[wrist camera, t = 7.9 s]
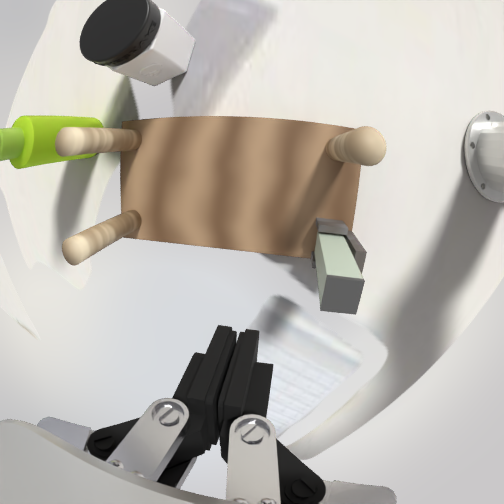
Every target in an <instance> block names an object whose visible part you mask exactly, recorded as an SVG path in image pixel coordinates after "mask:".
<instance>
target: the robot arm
mask: <svg viewBox="0 0 504 504" xmlns="http://www.w3.org/2000/svg"><path fill="white" fill-rule="evenodd" d="M465 160H466V166H467V169H468V173H469V175H470V178H471V180H472V182H473V184H474V186H475V188H476V189H477V190H478V191H479V193H480V194H481V195H483V196H484V197H485V198H487V199H489V200H491V201H494V202H504V116H503V115H502V114H500V113H498V112H495V111H484V112H481V113H479V114H477V115H476V116H475V117H474V118H473V119H472V121H471V122H470V124H469V126H468V129H467V133H466V137H465ZM236 337H237V332H236V331H232V327H228V326H221V325H218V327H217V329H216V331H215V333H214V336H213V338H212V340H211V343H210V345H209V347H208V349H207V352H206V354H202V353H194V355H193V356H192V359H191V361H190V363H189V365H188V367H187V369H186V371H185V373H184V375H183V377H182V379H181V381H180V384H179V385H178V387H177V390H176V391H175V394H174V396H173V398H164V399H159V400H157V401H155V402H153V403H152V405H150V406H149V408H148V409H147V410H146V411H145V413H144V414H143V415H142V416H141V417H140V418H137V419H134V420H130V421H127V422H124V423H120V424H117V425H113V426H110V427H106V428H102V429H99V430H97V431H94V430H91V428H89V427H85V426H81V425H77V424H73V423H70V422H66V421H63V420H60V419H56V418H53V417H47V418H43V419H42V420H40V422H39V423H38V425H37V426H36V425H33V424H31V423H27V422H24V421H19V420H12V419H7V420H2V421H0V504H396V495H395V493H394V491H393V490H391V489H390V488H387V487H383V486H373V485H364V484H355V483H347V482H341V481H336V480H334V481H333V482H330V481H325V480H322V479H321V478H320V477H319V476H318V475H316V474H315V473H314V472H313V471H312V470H311V469H309V468H308V467H307V466H306V465H305V464H304V463H302V462H301V461H300V460H299V459H298V458H297V457H296V456H295V455H293V454H292V453H291V452H290V451H289V450H288V449H287V448H286V447H285V446H283V444H281V443H280V442H279V441H278V440H277V439H276V432H275V428H274V425H273V424H272V423H271V421H269V420H268V419H267V418H266V414H267V408H268V401H269V394H270V386H271V379H272V372H273V364H267V363H259V362H257V352H258V341H259V331H257V330H249V329H246V330H245V332H240V334H239V337H238V340H237V343H236ZM219 436H220V446H221V456H222V458H223V459H224V460H225V462H226V463H227V464H228V469H227V470H228V471H227V488H226V500H223V499H218V498H213V497H208V496H204V495H199V494H195V493H191V492H187V491H183V490H180V488H181V486H182V484H183V483H184V481H185V479H186V477H187V476H188V474H189V472H190V470H191V469H192V467H193V465H194V463H195V461H196V459H197V456H199V455H202V454H204V453H205V450H210V448H211V445H212V444H213V445H216V444H217V442H218V439H219Z"/></svg>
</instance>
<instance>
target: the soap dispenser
mask: <svg viewBox="0 0 504 504" xmlns="http://www.w3.org/2000/svg"><path fill="white" fill-rule="evenodd" d="M64 127H91V128H103V125H102V123H101V122H100V121H99V120H98V119H96V118H90V117H73V116H21V117H19V118H18V119H17V120H16V121H15V122H14V124H13V126H12V128H4V129H0V161H3V160H8V159H10V162H11V164H12V165H13V166H14V167H15V168H17V169H21V168H26V167H31V166H37V165H42V164H48V163H54V162H61V161H68V160H75V159H83V158H90V157H93V156H94V155H96V154H97V153H93V154H83V155H74V156H66V157H61V156H59V155H58V153H57V152H56V149H55V140H56V136H57V134H58V132H59V131H60V130H61V129H62V128H64Z"/></svg>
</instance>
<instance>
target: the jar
mask: <svg viewBox="0 0 504 504" xmlns="http://www.w3.org/2000/svg"><path fill="white" fill-rule="evenodd" d="M194 44H195V39H194V38H193V37H192V36H191V35H190V34H189V33H188V32H187V31H186V30H185V29H184V28H183V27H182V26H181V25H180V24H179V23H178V22H177V21H176V20H175V19H174V18H172V17H171V16H170V15H169V14H168V13H167V12H166V11H165V10H163V9H161V8H159V7H157V6H156V4H154V3H153V2H152V1H151V0H106V1H105V2H103V3H102V4H101V5H100V6H99V7H98V8H97V9H96V10H95V11H94V12H93V13H92V14H91V15H90V17H89V18H88V20H87V21H86V23H85V25H84V27H83V30H82V32H81V36H80V50H81V53H82V55H83V56H84V57H85V58H86V59H87V60H89V61H92V62H94V63H95V64H98V65H102V66H107V67H108V68H110V69H111V70H112V71H114V72H117V73H120V74H123V75H125V76H128V77H131V78H134V79H137V80H139V81H142V82H144V83H147V84H150V85H152V86H156V85H158V84H160V83H163V82H165V81H167V80H169V79H171V78H173V77H175V76H178V75H180V74H182V73H184V72H186V71H187V68H188V65H189V61H190V58H191V54H192V51H193V47H194Z"/></svg>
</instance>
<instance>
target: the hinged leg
mask: <svg viewBox="0 0 504 504" xmlns="http://www.w3.org/2000/svg"><path fill="white" fill-rule="evenodd" d="M315 261H316V270H317V279H318V289H319V299H320V310H321V311H328V312H337V313H347V314H356V312H357V309H358V305H359V301H360V298H361V294H362V290H363V286H364V282H365V281H364V279H363V277H362V274H361V272H360V270H359V268H358V266H357V263H356V261H355V259H354V257H353V255H352V253H351V251H350V248H349V246H348V244H347V242H346V240H345V238H344V236H343V235H342V234H334V233H326V232H317V239H316V246H315Z"/></svg>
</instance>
